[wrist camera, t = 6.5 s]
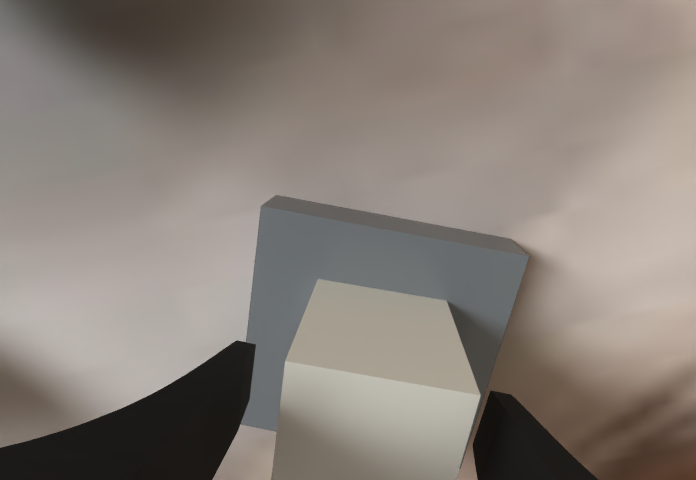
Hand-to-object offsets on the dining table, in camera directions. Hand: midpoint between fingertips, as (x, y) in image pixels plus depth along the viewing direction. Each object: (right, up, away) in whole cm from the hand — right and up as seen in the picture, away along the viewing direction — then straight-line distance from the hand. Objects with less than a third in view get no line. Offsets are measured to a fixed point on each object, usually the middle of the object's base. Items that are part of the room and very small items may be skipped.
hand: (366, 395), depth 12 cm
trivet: (0, +1, +4) cm, 5 cm away
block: (0, +1, +2) cm, 3 cm away
